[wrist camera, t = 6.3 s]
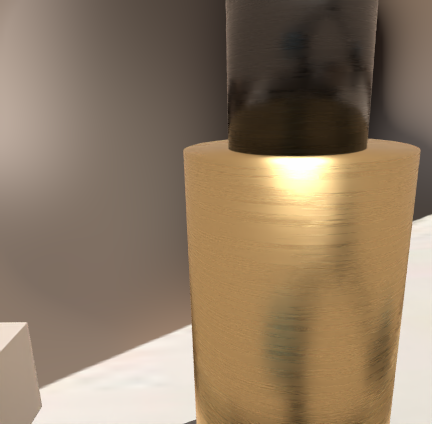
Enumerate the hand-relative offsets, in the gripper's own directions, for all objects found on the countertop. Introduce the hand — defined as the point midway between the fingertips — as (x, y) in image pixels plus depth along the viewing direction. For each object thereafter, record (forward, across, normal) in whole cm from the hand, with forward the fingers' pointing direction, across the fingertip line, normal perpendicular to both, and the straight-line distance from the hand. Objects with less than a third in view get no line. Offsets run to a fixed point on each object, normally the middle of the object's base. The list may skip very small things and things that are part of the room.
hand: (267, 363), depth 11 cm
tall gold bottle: (-2, 0, -9) cm, 9 cm away
